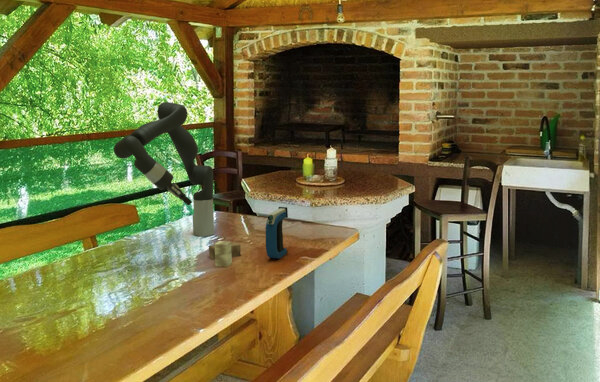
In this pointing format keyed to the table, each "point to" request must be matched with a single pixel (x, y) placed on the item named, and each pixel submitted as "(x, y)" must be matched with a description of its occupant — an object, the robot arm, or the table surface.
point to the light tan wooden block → (234, 249)
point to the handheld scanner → (275, 233)
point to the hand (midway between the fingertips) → (189, 203)
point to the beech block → (223, 254)
